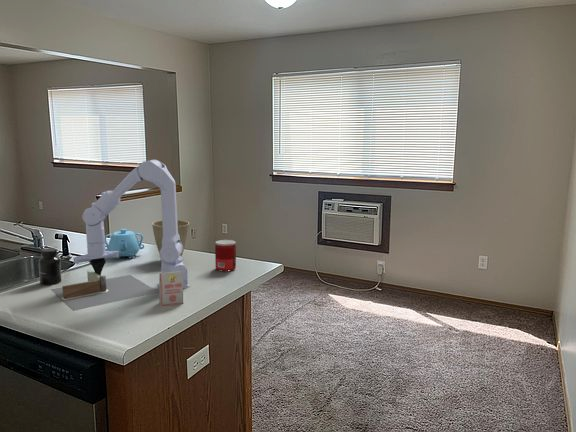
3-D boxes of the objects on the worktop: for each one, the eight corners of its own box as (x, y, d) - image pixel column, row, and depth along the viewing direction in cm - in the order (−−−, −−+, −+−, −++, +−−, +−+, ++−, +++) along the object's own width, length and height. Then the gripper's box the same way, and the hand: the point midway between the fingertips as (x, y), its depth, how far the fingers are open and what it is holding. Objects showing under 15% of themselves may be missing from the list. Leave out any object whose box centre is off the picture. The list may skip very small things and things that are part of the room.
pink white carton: (159, 302, 145) (158, 271, 143) (181, 299, 148) (180, 269, 146) (161, 306, 142) (160, 275, 140) (183, 303, 144) (182, 273, 143)
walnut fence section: (107, 291, 153) (106, 276, 152) (64, 299, 145) (63, 284, 144) (105, 289, 155) (104, 275, 154) (62, 298, 146) (61, 282, 145)
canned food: (238, 270, 180) (238, 243, 178) (217, 272, 177) (217, 244, 175) (233, 265, 187) (233, 239, 185) (213, 267, 184) (213, 240, 182)
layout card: (158, 292, 154) (158, 291, 153) (73, 311, 136) (73, 310, 136) (129, 275, 172) (129, 274, 172) (50, 289, 154) (50, 288, 154)
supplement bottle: (37, 286, 157) (35, 252, 155) (42, 280, 163) (40, 247, 161) (59, 285, 159) (57, 251, 157) (63, 279, 165) (61, 247, 163)
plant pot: (161, 267, 183) (160, 227, 180) (148, 258, 195) (146, 221, 192) (195, 261, 191) (195, 224, 189) (181, 254, 203) (180, 218, 201)
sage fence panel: (91, 280, 163) (90, 269, 162) (103, 288, 155) (102, 277, 154) (87, 281, 162) (87, 270, 161) (99, 289, 154) (99, 277, 153)
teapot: (105, 251, 205) (104, 225, 203) (144, 249, 210) (143, 224, 208) (102, 263, 186) (100, 235, 184) (145, 261, 191) (144, 233, 189)
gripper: (112, 236, 165) (114, 273, 167) (69, 242, 156) (72, 281, 158) (120, 240, 160) (122, 278, 162) (76, 246, 150) (79, 286, 153)
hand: (98, 280), depth 160 cm, fingers closed
